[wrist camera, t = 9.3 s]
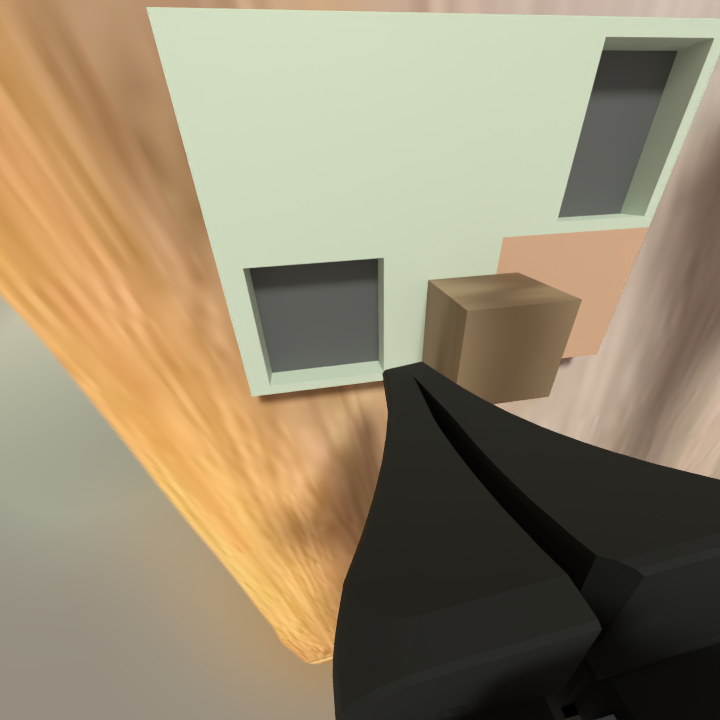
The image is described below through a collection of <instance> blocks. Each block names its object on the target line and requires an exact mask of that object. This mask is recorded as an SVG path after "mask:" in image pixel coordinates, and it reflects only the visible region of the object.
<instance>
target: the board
mask: <svg viewBox="0 0 720 720" xmlns="http://www.w3.org/2000/svg"><path fill="white" fill-rule="evenodd" d="M146 8H147V11H148V15H149V19H150V22H151V26H152V30H153V34H154V37H155V41H156V45H157V48H158V52H159V56H160V59H161V63H162V67H163V70H164V74H165V78H166V81H167V85H168V89H169V92H170V96H171V100H172V103H173V107H174V111H175V114H176V118H177V122H178V126H179V129H180V133H181V137H182V140H183V144H184V148H185V151H186V155H187V159H188V162H189V166H190V170H191V173H192V177H193V181H194V184H195V188H196V192H197V195H198V199H199V203H200V206H201V210H202V214H203V217H204V221H205V225H206V229H207V232H208V236H209V240H210V243H211V247H212V251H213V254H214V258H215V262H216V265H217V269H218V273H219V276H220V280H221V284H222V287H223V291H224V295H225V298H226V302H227V306H228V309H229V313H230V317H231V321H232V324H233V328H234V332H235V335H236V339H237V343H238V346H239V350H240V354H241V357H242V361H243V365H244V368H245V372H246V376H247V379H248V383H249V387H250V390H251V394H252V396H261V395H269V394H277V393H285V392H293V391H301V390H309V389H317V388H325V387H334V386H342V385H350V384H358V383H366V382H374V381H382V380H383V375H382V373H383V372H384V371H385V370H387V369H391V368H395V367H400V366H404V365H408V364H413V363H417V362H422V356H423V343H424V330H425V317H426V303H427V290H428V280H434V279H445V278H457V277H469V276H481V275H492V274H504V273H516V272H518V273H521V274H523V275H525V276H528V277H530V278H532V279H535V280H537V281H539V282H542V283H544V284H547V285H549V286H551V287H554V288H556V289H558V290H561V291H563V292H565V293H568V294H570V295H573V296H575V297H577V298H580V299H582V301H581V304H580V307H579V310H578V313H577V316H576V319H575V322H574V325H573V327H572V330H571V333H570V336H569V339H568V342H567V345H566V348H565V351H564V354H563V356H562V358H569V357H577V356H585V355H593V354H597V353H598V351H599V348H600V346H601V343H602V341H603V338H604V336H605V333H606V331H607V329H608V326H609V324H610V321H611V319H612V316H613V314H614V311H615V309H616V306H617V304H618V302H619V299H620V297H621V294H622V292H623V289H624V287H625V284H626V282H627V279H628V277H629V275H630V272H631V270H632V267H633V265H634V262H635V260H636V257H637V255H638V253H639V250H640V248H641V245H642V243H643V240H644V238H645V235H646V233H647V230H648V228H649V226H650V223H651V221H652V218H653V216H654V213H655V211H656V208H657V206H658V204H659V201H660V199H661V196H662V194H663V191H664V189H665V186H666V184H667V181H668V179H669V177H670V174H671V172H672V169H673V167H674V164H675V162H676V159H677V157H678V154H679V152H680V150H681V147H682V145H683V142H684V140H685V137H686V135H687V132H688V130H689V128H690V125H691V123H692V120H693V118H694V115H695V113H696V110H697V108H698V105H699V103H700V101H701V98H702V96H703V93H704V91H705V88H706V86H707V83H708V81H709V79H710V76H711V74H712V71H713V69H714V66H715V64H716V61H717V59H718V56H719V54H720V19H714V18H664V17H614V16H564V15H514V14H463V13H413V12H363V11H313V10H263V9H213V8H163V7H146Z"/></svg>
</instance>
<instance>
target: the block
mask: <svg viewBox="0 0 720 720" xmlns="http://www.w3.org/2000/svg"><path fill="white" fill-rule="evenodd" d="M581 301H582V299H580V298H577V297H575V296H573V295H570V294H568V293H565V292H563V291H561V290H558V289H556V288H554V287H551V286H549V285H547V284H544V283H542V282H539V281H537V280H535V279H532V278H530V277H528V276H525V275H523V274H521V273H518V272H516V273H504V274H492V275H481V276H469V277H457V278H445V279H434V280H428V290H427V303H426V317H425V330H424V343H423V356H422V362H424V363H425V364H427V365H428V366H430V367H431V368H433V369H434V370H436V371H438V372H439V373H441V374H442V375H444V376H445V377H447V378H448V379H450V380H451V381H453V382H455V383H456V384H458V385H459V386H461V387H463V388H464V389H466V390H468V391H469V392H471V393H473V394H475V395H476V396H478V397H480V398H482V399H484V400H486V401H488V402H489V403H491V404H498V403H505V402H512V401H519V400H527V399H534V398H541V397H548V396H549V394H550V391H551V388H552V386H553V383H554V380H555V377H556V374H557V371H558V368H559V365H560V362H561V359H562V356H563V354H564V351H565V348H566V345H567V342H568V339H569V336H570V333H571V330H572V327H573V325H574V322H575V319H576V316H577V313H578V310H579V307H580V304H581Z"/></svg>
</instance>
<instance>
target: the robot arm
mask: <svg viewBox="0 0 720 720" xmlns="http://www.w3.org/2000/svg"><path fill="white" fill-rule="evenodd" d="M382 375H383V381H384V388H385V395H386V401H387V408H388V420H387V432H386V441H385V447H384V453H383V459H382V464H381V469H380V473H379V478H378V482H377V486H376V490H375V494H374V498H373V501H372V504H371V507H370V511H369V514H368V517H367V520H366V524H365V527H364V530H363V533H362V536H361V539H360V541H359V544H358V547H357V549H356V552H355V555H354V557H353V560H352V562H351V565H350V568H349V570H348V573H347V576H346V578H345V581H344V584H343V591H342V596H341V602H340V608H339V614H338V620H337V627H336V633H335V642H334V653H333V687H334V703H335V718H336V720H720V480H719V479H715V478H710V477H706V476H702V475H698V474H694V473H690V472H686V471H682V470H678V469H673V468H669V467H665V466H661V465H657V464H653V463H650V462H646V461H643V460H639V459H636V458H632V457H629V456H626V455H622V454H619V453H615V452H612V451H609V450H606V449H602V448H599V447H596V446H593V445H590V444H587V443H584V442H581V441H578V440H576V439H573V438H570V437H567V436H565V435H562V434H559V433H556V432H554V431H551V430H549V429H546V428H543V427H541V426H538V425H536V424H534V423H532V422H529V421H527V420H525V419H522V418H520V417H518V416H516V415H513V414H511V413H509V412H507V411H505V410H503V409H501V408H499V407H497V406H495V405H493V404H491V403H489V402H488V401H486V400H484V399H482V398H480V397H478V396H476V395H475V394H473V393H471V392H469V391H468V390H466V389H464V388H463V387H461V386H459V385H458V384H456V383H455V382H453V381H451V380H450V379H448V378H447V377H445V376H444V375H442V374H441V373H439V372H438V371H436V370H434V369H433V368H431V367H430V366H428V365H427V364H425V363H424V362H417V363H413V364H408V365H404V366H400V367H395V368H391V369H387V370H385V371H384V372H383V373H382Z"/></svg>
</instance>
